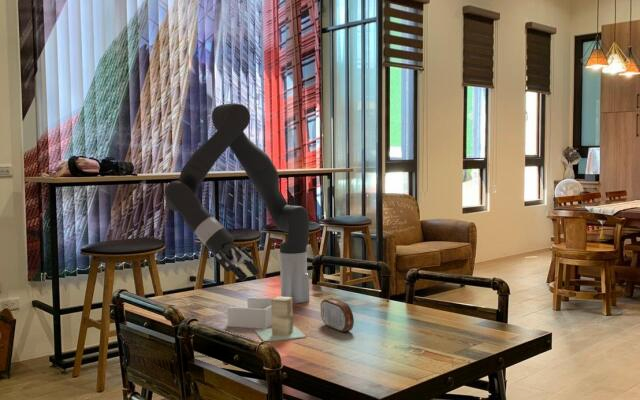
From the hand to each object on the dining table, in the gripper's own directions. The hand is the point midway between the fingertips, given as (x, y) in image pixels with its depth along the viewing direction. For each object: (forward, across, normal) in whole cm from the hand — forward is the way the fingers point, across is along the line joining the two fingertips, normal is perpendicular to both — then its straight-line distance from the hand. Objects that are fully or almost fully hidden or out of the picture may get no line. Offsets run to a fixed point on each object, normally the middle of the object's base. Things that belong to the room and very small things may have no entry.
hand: (251, 276), depth 192 cm
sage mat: (+17, 0, +6) cm, 18 cm away
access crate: (+8, +12, +15) cm, 21 cm away
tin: (+27, +10, -4) cm, 29 cm away
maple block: (+18, 0, +5) cm, 18 cm away
